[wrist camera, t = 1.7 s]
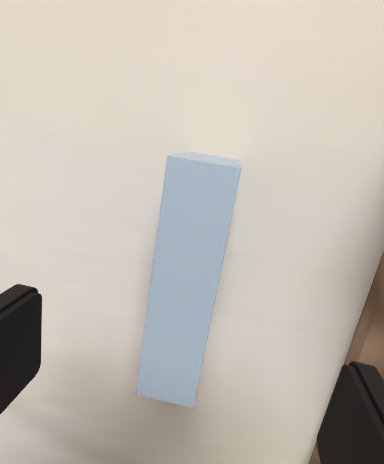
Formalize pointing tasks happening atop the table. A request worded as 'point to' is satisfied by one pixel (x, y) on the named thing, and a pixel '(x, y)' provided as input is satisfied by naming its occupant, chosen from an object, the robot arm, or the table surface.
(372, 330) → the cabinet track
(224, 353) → the table surface
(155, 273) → the door panel
